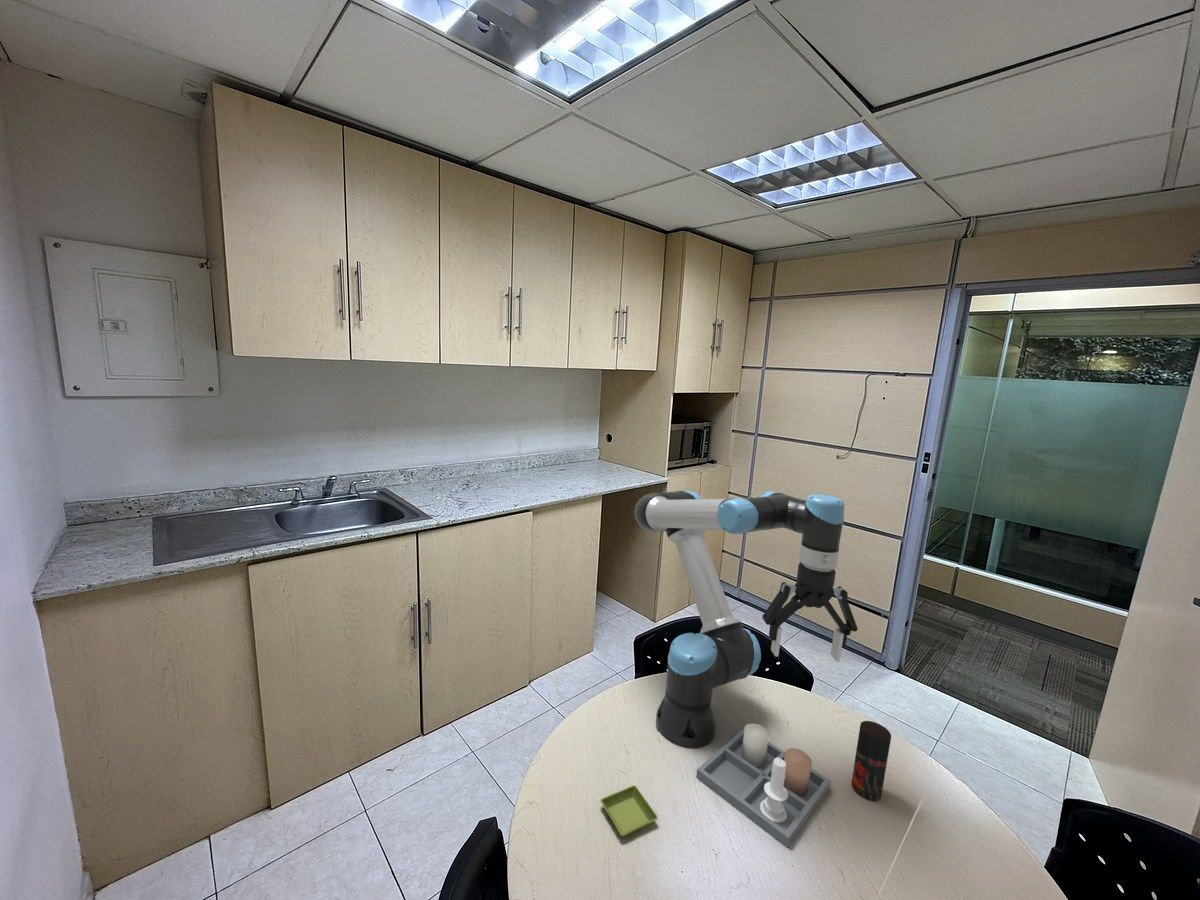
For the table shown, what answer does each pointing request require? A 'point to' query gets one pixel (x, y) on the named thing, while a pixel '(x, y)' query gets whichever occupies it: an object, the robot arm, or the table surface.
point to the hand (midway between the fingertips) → (804, 655)
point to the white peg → (775, 793)
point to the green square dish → (628, 810)
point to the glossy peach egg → (797, 771)
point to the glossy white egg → (755, 745)
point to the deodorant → (870, 760)
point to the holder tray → (759, 788)
